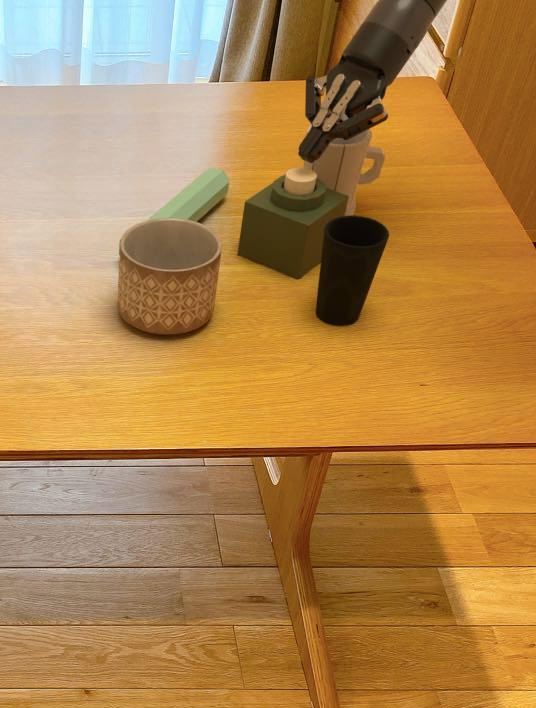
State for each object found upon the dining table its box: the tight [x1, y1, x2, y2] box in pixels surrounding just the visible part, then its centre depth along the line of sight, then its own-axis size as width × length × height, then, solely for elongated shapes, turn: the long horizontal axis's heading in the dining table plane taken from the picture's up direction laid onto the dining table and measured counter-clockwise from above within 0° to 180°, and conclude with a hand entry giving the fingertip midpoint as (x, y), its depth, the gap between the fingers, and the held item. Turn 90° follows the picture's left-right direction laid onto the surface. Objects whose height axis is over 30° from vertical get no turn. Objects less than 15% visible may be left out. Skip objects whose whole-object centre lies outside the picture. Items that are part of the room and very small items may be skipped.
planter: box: [116, 218, 223, 335], centre depth 131 cm, size 13×13×10 cm
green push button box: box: [237, 173, 349, 280], centre depth 140 cm, size 10×10×10 cm
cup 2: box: [314, 215, 390, 327], centre depth 129 cm, size 8×8×12 cm
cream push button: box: [284, 167, 317, 195], centre depth 136 cm, size 4×4×2 cm
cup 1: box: [302, 123, 386, 216], centre depth 147 cm, size 10×9×12 cm
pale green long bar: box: [118, 167, 230, 256], centre depth 147 cm, size 6×6×25 cm
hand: (304, 158), depth 134 cm, fingers closed
